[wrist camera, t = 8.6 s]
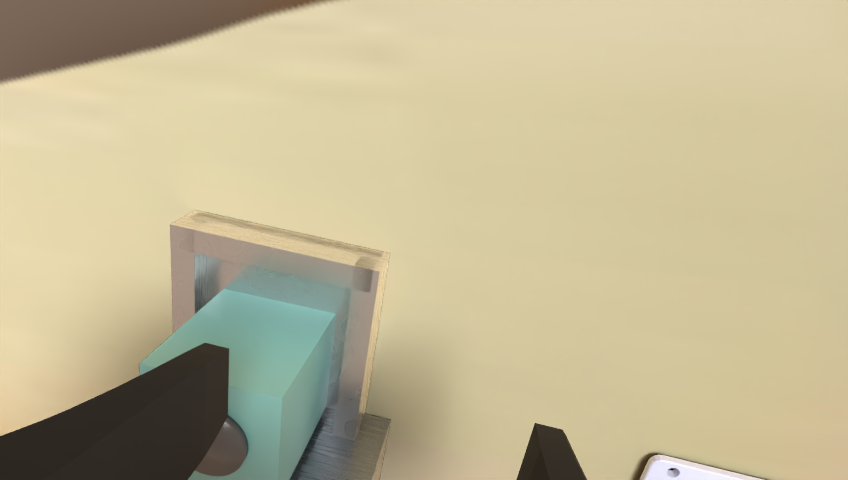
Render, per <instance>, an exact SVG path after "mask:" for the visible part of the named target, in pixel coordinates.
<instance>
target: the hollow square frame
mask: <svg viewBox="0 0 848 480" xmlns="http://www.w3.org/2000/svg"><path fill="white" fill-rule="evenodd" d="M170 241H171V276H172V311H173V333H174V332H176V331H177V330H178V329H179V328H180V327H181V326H182V325H183V324H185V323H186V322H187V321H188V320H189V319H190V318H191V317H192V316H194V315H195V314H196V313H197V312H198V311H199V310H200V309H201V308H203V307H204V306H205V305H206V304H207V303H208V302H209V301H210V300H212V299H213V298H214V297H215V296H216V295H217V294H218V293H219V292H221V291H222V290H223V289H227V290H232V291H236V292H241V293H245V294H249V295H254V296H258V297H263V298H267V299H272V300H276V301H281V302H285V303H290V304H294V305H299V306H303V307H308V308H312V309H316V310H321V311H325V312H330V313H334V314H336V315H335V324H334V334H333V344H332V353H331V363H330V373H329V383H328V392H327V402H326V408H325V410H324V412H323V414H322V416H321V418H320V420H319V422H318V424H317V426H316V428H315V430H314V432H313V434H312V436H311V438H310V440H309V442H308V444H307V446H306V448H305V450H304V452H303V454H302V456H301V458H300V460H299V462H298V464H297V466H296V468H295V470H294V472H293V474H292V476H291V478H290V480H380V475H381V469H382V464H383V458H384V453H385V447H386V442H387V436H388V431H389V425H390V420H389V419H385V418H381V417H377V416H373V415H369V414H365V410H366V404H367V397H368V391H369V385H370V378H371V372H372V365H373V359H374V353H375V346H376V340H377V333H378V327H379V321H380V314H381V308H382V301H383V295H384V289H385V282H386V276H387V269H388V263H389V256H390V253H387V252H383V251H378V250H374V249H369V248H365V247H360V246H356V245H351V244H347V243H342V242H338V241H333V240H329V239H324V238H320V237H315V236H311V235H306V234H302V233H297V232H293V231H288V230H284V229H279V228H275V227H270V226H266V225H261V224H257V223H252V222H248V221H243V220H239V219H234V218H230V217H225V216H221V215H216V214H212V213H207V212H203V211H198V210H195V211H193V212H191V213H189V214H188V215H186V216H184V217H182V218H181V219H179V220H177V221H175V222H173V223H172V224H170Z"/></svg>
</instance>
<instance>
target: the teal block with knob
mask: <svg viewBox="0 0 848 480" xmlns="http://www.w3.org/2000/svg"><path fill="white" fill-rule="evenodd" d="M335 315H336V314H334V313H330V312H325V311H321V310H316V309H312V308H308V307H303V306H299V305H294V304H290V303H285V302H281V301H276V300H272V299H267V298H263V297H258V296H254V295H249V294H245V293H241V292H236V291H232V290H227V289H223V290H222V291H221V292H219V293H218V294H217V295H216V296H215V297H214V298H213V299H212V300H210V301H209V302H208V303H207V304H206V305H205V306H204V307H203V308H201V309H200V310H199V311H198V312H197V313H196V314H195V315H194V316H192V317H191V318H190V319H189V320H188V321H187V322H186V323H185V324H183V325H182V326H181V327H180V328H179V329H178V330H177V331H176V332H174V333H173V334H172V335H171V336H170V337H169V338H168V339H167V340H165V341H164V342H163V343H162V344H161V345H160V346H159V347H158V348H156V349H155V350H154V351H153V352H152V353H151V354H150V355H149V356H147V357H146V358H145V359H144V360H143V361H142V362H141V363H140V364H139V368H140V375H142V374H144V373H146V372H148V371H150V370H152V369H154V368H156V367H158V366H160V365H162V364H164V363H166V362H167V361H169V360H171V359H173V358H175V357H177V356H179V355H181V354H183V353H185V352H187V351H189V350H191V349H193V348H195V347H197V346H199V345H201V344H203V343H209V344H213V345H217V346H221V347H225V348H229V386H228V417H227V419H226V421H225V422H224V424H223V426H222V428H221V430H220V431H219V433H218V435H217V437H216V439H215V440H214V442H213V444H212V445H211V447H210V449H209V450H208V452H207V454H206V456H205V457H204V458H203V460H202V461H201V463H200V464H199V465H198V467H197V468H196V469H195V471H194V472H193V473H192V475H191V476H190V477H189V479H188V480H290V478H291V476H292V474H293V472H294V470H295V468H296V466H297V464H298V462H299V460H300V458H301V456H302V454H303V452H304V450H305V448H306V446H307V444H308V442H309V440H310V438H311V436H312V434H313V432H314V430H315V428H316V426H317V424H318V422H319V420H320V418H321V416H322V414H323V412H324V410H325V408H326V402H327V392H328V383H329V373H330V363H331V353H332V344H333V334H334V324H335Z"/></svg>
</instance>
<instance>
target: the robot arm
mask: <svg viewBox="0 0 848 480" xmlns="http://www.w3.org/2000/svg"><path fill="white" fill-rule="evenodd" d="M228 386H229V348H225V347H221V346H217V345H213V344H209V343H203V344H201V345H199V346H197V347H195V348H193V349H191V350H189V351H187V352H185V353H183V354H181V355H179V356H177V357H175V358H173V359H171V360H169V361H167V362H166V363H164V364H162V365H160V366H158V367H156V368H154V369H152V370H150V371H148V372H146V373H144V374H142V375H140V376H138V377H136V378H134V379H132V380H130V381H128V382H126V383H124V384H122V385H120V386H118V387H116V388H114V389H112V390H110V391H108V392H105V393H103V394H101V395H99V396H97V397H95V398H92V399H90V400H88V401H86V402H84V403H82V404H79V405H77V406H75V407H73V408H71V409H69V410H66V411H64V412H62V413H59V414H57V415H54V416H52V417H49V418H47V419H45V420H42V421H40V422H37V423H34V424H32V425H29V426H26V427H24V428H21V429H19V430H16V431H13V432H11V433H8V434H5V435H2V436H0V480H188V479H189V477H190V476H191V475H192V473H193V472H194V471H195V469H196V468H197V467H198V465H199V464H200V463H201V461H202V460H203V458H204V457H205V456H206V454H207V452H208V450H209V449H210V447H211V445H212V444H213V442H214V440H215V439H216V437H217V435H218V433H219V431H220V430H221V428H222V426H223V424H224V422H225V421H226V419H227V417H228ZM670 468H676V469H674V470H668V469H670ZM517 480H587V479H586V477H585V475H584V473H583V471H582V469H581V466H580V464H579V462H578V460H577V458H576V456H575V454H574V452H573V450H572V447H571V445H570V443H569V441H568V439H567V437H566V435H565V433H564V431H563V430H561V429H557V428H553V427H549V426H545V425H541V424H537V423H535V425H534V428H533V431H532V434H531V437H530V440H529V443H528V446H527V449H526V453H525V456H524V459H523V462H522V465H521V468H520V471H519V474H518V477H517ZM640 480H763V479H759V478H755V477H751V476H747V475H743V474H739V473H734V472H730V471H726V470H722V469H718V468H714V467H710V466H706V465H702V464H698V463H694V462H689V461H685V460H681V459H677V458H673V457H669V456H665V455H655V456H653V457H651V458H650V459H649V460H648V462H647V464H646V466H645V468H644V471H643V473H642V475H641V477H640Z"/></svg>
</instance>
